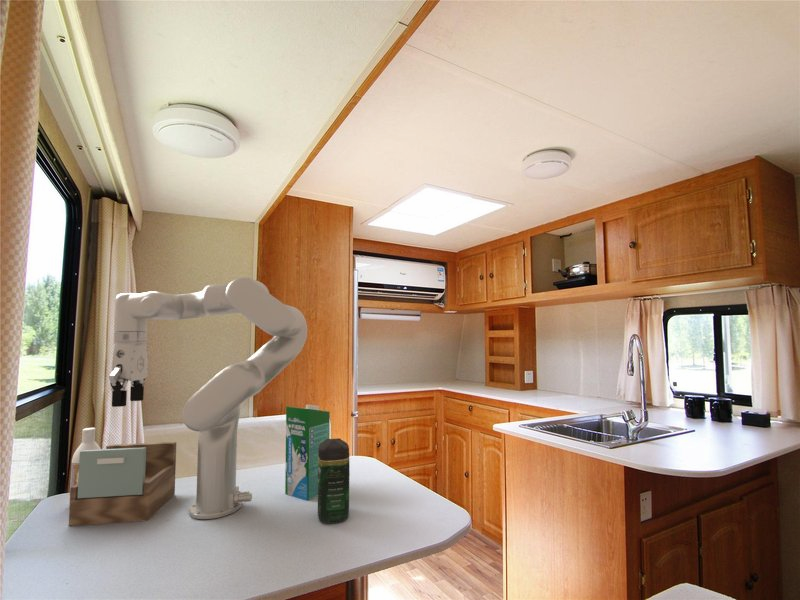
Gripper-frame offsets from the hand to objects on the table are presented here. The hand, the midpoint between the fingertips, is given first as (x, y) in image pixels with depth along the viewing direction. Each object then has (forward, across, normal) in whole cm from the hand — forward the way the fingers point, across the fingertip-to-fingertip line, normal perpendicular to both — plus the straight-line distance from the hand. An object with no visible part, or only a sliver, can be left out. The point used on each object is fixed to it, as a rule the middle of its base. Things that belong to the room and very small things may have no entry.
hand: (128, 403), depth 109 cm
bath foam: (+28, +8, +14) cm, 32 cm away
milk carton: (+29, +5, -47) cm, 55 cm away
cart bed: (+28, +1, 0) cm, 28 cm away
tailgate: (+22, -7, 0) cm, 23 cm away
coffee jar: (+29, -12, -55) cm, 63 cm away
